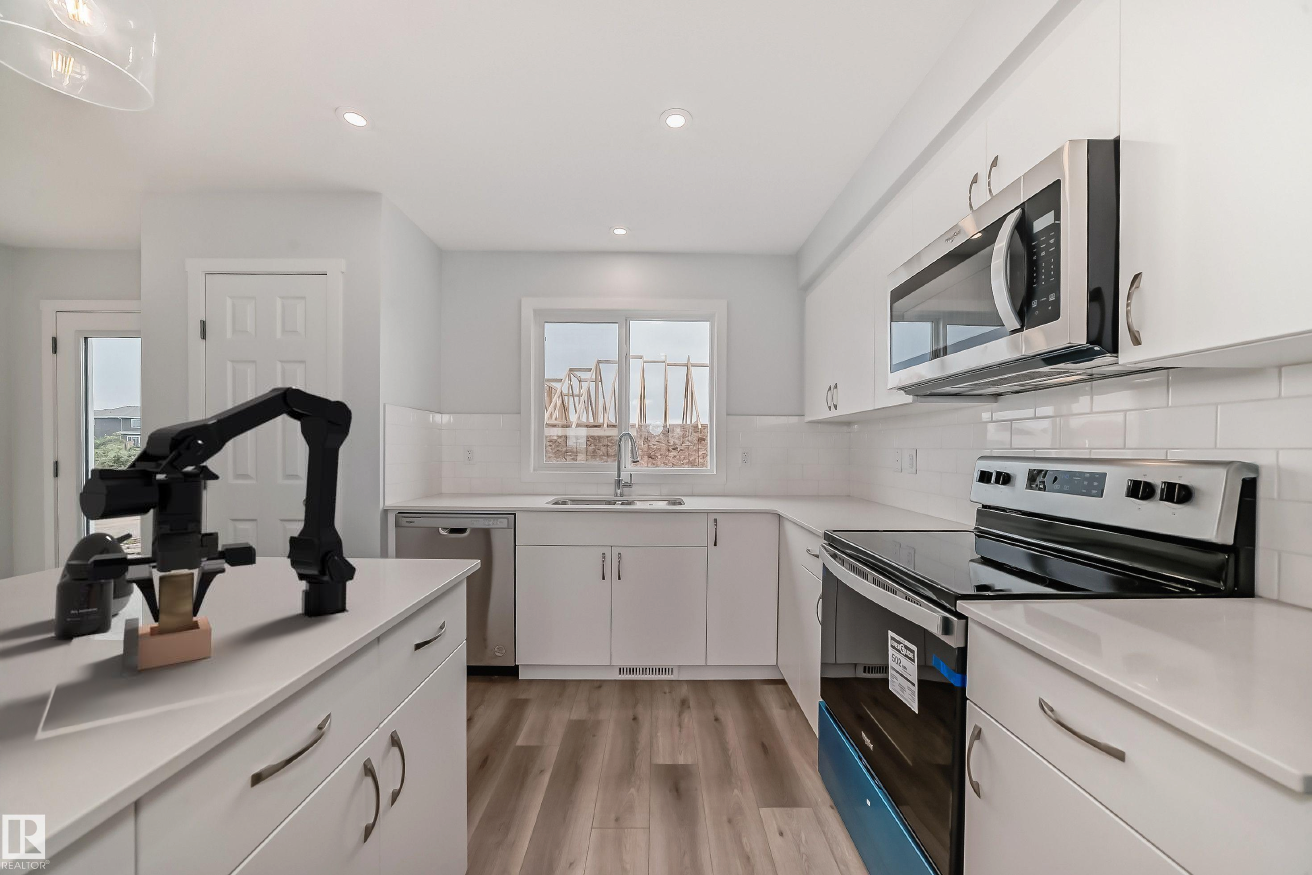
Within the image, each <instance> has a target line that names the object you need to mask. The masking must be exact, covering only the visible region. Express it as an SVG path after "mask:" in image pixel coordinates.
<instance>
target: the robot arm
mask: <svg viewBox="0 0 1312 875" xmlns="http://www.w3.org/2000/svg"><path fill="white" fill-rule="evenodd" d="M283 415H285V416H286V417H288V418H290V419H292V420H293V421H296V422H299V424H300V433H301V435H302V437H303V439H304V441H305V443H306V445H307V446H308V448H307V449H308V456H307V458H308V459H307V473H306V485H305V486H306V487H305V488H306V489H305V499H304V500H305V501H304V502H305V503H304V518H303V527H302V528H301V530H300V532H299V533H298V535H295V536H294V535H290V536H289V539H288V545H289V547H288V548H289V550H288V554H287V556H286V559H287V560H289V562H290V563H289V564H290V567H291V568H292V569H293V570H294V571H295V573H296V576H297V578H298V581H300V582H305V587H304V589H302V591H301V613H302V614H303V616H307V617H308V618H310V619H312V618H313V619H314V618H317V617H324V616H330V615H331V616H332V615H337V614H342V613H343V614H344V613H347V612H348V613H349V610H348V609H347V586H348V585H347V583H348V582H350V581H353V580H354V577H355V575H356V571H357V568H356V567H355V566H354V564H352V563H351V562H350V561H349V560H348V559H347V558H346V557H345V556H344V545H343V540H342V538H341V536H340V534H339V532H338V530H337V528H336V525H335V524H336V523H335V522H336V507H337V490H338V474H339V472H338V471H339V460H340V459H339V455H340V449H341V447H342V446H343V444H344V442H345V441H346V440H347V438H348V436H349V434H350V429H351V426H352V425H351V424H352V419H353V412H352V409H351V408H349V406H348V405H347V404H346V403H345V402H344V401H342V400H331V399H329V398H326V397H324V396H323V397H322V396H321V395H320V396H319V395H317V394H316V395H315V394H313V393H310V392H306V391H304V390H302V389H300V388H298V387H295V386H277V387H273V388H271V389H270V390H269V391H268V392H266V393H265V392H264V393H263V394H261V395H258V396H257V397H253V398H251V399H249V400H247V401H245V402H242V403H240V404H237V405H236V406H233V407H230V408H228V409H226V410H224V411H221V412H219V413H216V414H214V415H212V416H210V417H206V418H201V419H197V420H191V421H187V422H181V423H177V424H172V425H169V426H164V427H160V428H157V429H155V430H154V431H152V432H151V433H150V434H149V435H148V436H147V441H146V443H145V444H146V445H145V447H144V448H143V449H142V450H141V452H140V453H139V454H138V455H137V456H136V457H135V458H134V459H133V460H132V462H130V463H129V465H128V466H127V467H126V468H123V469H121V468H119V469H114V468H105V467H104V468H103V467H102V468H100V467H99V468H97V467H96V468H92V469H90V477H89V478H88V479H87V480H86V481H85V483H84V484H83V486H82V490H81V492H79V506H80V507H79V508H80V510H81V512H82V514H83V516H84V517H85V519H87V520H89V521H103V520H111V519H112V520H113V519H114V520H115V519H124V518H133V517H144V516H146V515H148V514H149V513H150V512H151V510H152V522H151V523H152V526H151V528H152V529H151V532H152V533H151V551H150V552H151V555H149V556H136V557H128V556H129V553H128V552H125V553H114V554H102V555H95V556H94V557H93V558H91V559H90V561H89V563H88V575H87V581H102V580H112V579H119V578H120V577H122V576H123V575H124V574H126V576H125V583H126V584H130V583H134V585H135V586H136V587H137V588H138V590H139V591H140V593H141V594H142V596H143V597H144V600H145V602H146V604H147V606H148V609H149V613H150V615H151V617H152V619H153V621H154V624H158V617H159V612H158V599H157V593H156V587H155V586H156V585H155V580H154V574H153V570H156V571H157V572H159V573H163V574H168V573H172V572H173V571H180V570H181V571H182V570H187V571H194V570H195V571H196V570H197V575H196V584H195V587H194V604H193V618H196V617H197V618H198V613H199V611H200V609H201V607H202V604H203V601H204V599H205V596H206V594H207V592H208V589H210V586H211V584H212V582H214V580H215V578H216V577H217V576H218V575H219V574H220V575H221V574H225V573H226V571H227V569H226V568H225V565H226V564H227V565H228V566H229V567H231V568H232V567H233V568H235V567H242V566H243V567H244V566H253V565H256V564H257V551H256V550H257V549H256V548H255V547H254V546H253V545H252V544H251V543H249V542H248V541H246V542H236V543H225V544H221V548H220V549H219V532H218V531H213V532H210V531H209V532H203V518H204V517H203V514H204V512H203V511H204V510H203V508H204V506H203V505H204V482H206V481H218V480H220V475H219V474H217V473H216V472H214V471H213V470H211V469H210V468H209V467H208V465H206V464H204V463H206V462H208V461H209V460H210V459H212V458H213V457H214V456H216V455H217V454H219V453H220V452H221V451H223V448H224V447H225V446H226V445H227V444H228V443H229V442H230V441H231V440H233V439H235V438H237V437H239V436H241V435H243V434H245V433H247V432H249V431H252V430H253V429H255V428H258V427H260V426H262V425H264V424H265V423H268V422H270V421H273V420H275V419H276V418H279V417H280V416H283ZM191 467H193V468H191ZM188 468H191V469H188ZM186 469H187V470H186ZM158 475H159V476H160V475H161V476H162V475H163V476H164V475H165V476H164V477H157V476H158Z"/></svg>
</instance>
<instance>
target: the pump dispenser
mask: <svg viewBox="0 0 1312 875" xmlns="http://www.w3.org/2000/svg"><path fill="white" fill-rule="evenodd" d="M132 538H133V534H132V533H131V532H128V533H126V534H122V535H120V536H118V537H114V536H113V535H111V534H110V533H106V532H103V531H101V532H99V531H97V532H93V533H89V534H87V535H84V536H83V537H82V538H80V539H79V540H78V541H77V543H76V544H75V545H74V546H73V549H72V550H71V551H70V554H69V555H68V557H67V559H66V561H65V563H64V566H63V569H62V570H61V573H60V577H59V580H58V583H59V582H60V581H61V580H63V579H65V578H67V574H65V571H66V564H67V562H70V561H75V560H83V559H91V558H93V557H94V556H95V555H102V554H114V553H126V552H125V550H124V547H122V545H121V544H124V543H125V542H127V541H129V540H130V539H132ZM125 576H126V574H124V575H123V576H122V577H120V578H119V579H113V583H114V585H113V606H112V616H114V615H117V614H118V613H120V612H122V611H123V609H125V608H126V607H127V605H128V604H129V602H130V599H131V597H132V595H133V594H134V591H135V584H134V583H130V584H126V583H125Z"/></svg>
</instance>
